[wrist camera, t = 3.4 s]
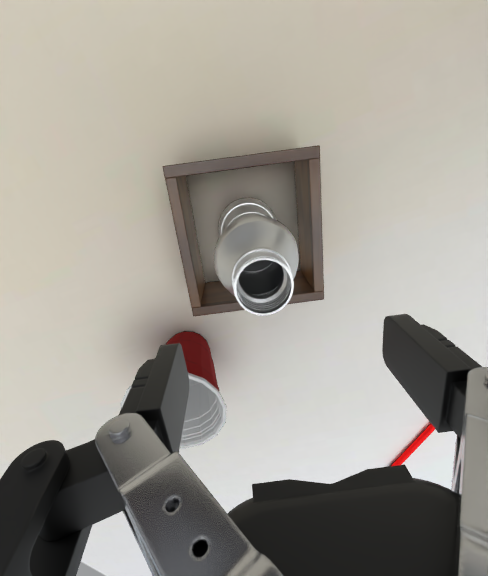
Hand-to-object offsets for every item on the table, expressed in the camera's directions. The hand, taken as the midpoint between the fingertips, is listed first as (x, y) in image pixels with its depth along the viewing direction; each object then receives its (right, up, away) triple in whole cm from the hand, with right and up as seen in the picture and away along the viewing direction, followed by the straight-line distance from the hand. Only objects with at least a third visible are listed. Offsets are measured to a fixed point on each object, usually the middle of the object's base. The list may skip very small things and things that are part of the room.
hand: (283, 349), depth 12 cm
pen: (+27, -21, +38) cm, 52 cm away
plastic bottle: (-1, +10, +25) cm, 27 cm away
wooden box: (-1, +10, +25) cm, 27 cm away
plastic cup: (-9, -6, +31) cm, 33 cm away
